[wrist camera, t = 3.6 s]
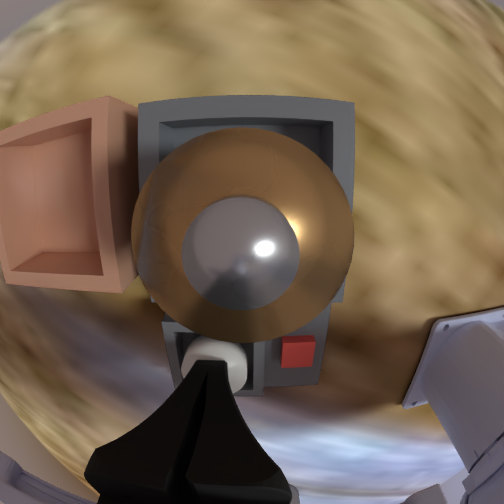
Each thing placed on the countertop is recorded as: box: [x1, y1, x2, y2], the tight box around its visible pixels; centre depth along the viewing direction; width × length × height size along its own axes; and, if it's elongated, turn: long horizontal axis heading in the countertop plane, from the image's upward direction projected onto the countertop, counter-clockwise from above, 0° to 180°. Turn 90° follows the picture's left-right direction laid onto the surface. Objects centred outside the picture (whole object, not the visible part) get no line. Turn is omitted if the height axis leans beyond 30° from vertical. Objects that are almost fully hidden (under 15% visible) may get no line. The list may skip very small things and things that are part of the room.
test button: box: [181, 336, 247, 393], centre depth 12 cm, size 3×3×1 cm
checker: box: [138, 95, 355, 396], centre depth 12 cm, size 8×15×3 cm, turn 0°
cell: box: [131, 127, 354, 343], centre depth 8 cm, size 4×4×8 cm
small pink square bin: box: [0, 96, 139, 293], centre depth 11 cm, size 7×7×4 cm
